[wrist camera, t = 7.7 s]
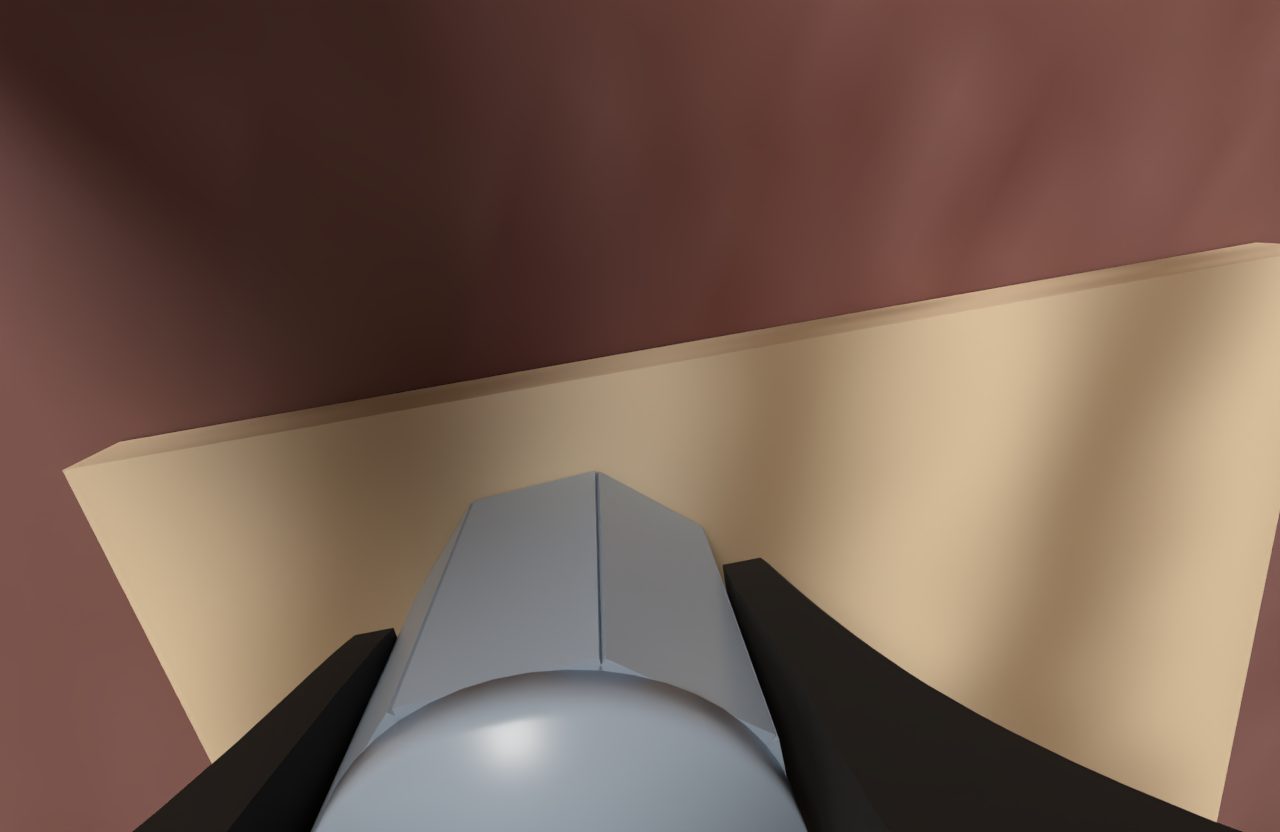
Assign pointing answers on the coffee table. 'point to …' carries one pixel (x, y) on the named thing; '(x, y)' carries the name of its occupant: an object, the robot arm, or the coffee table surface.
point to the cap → (567, 683)
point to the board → (798, 502)
